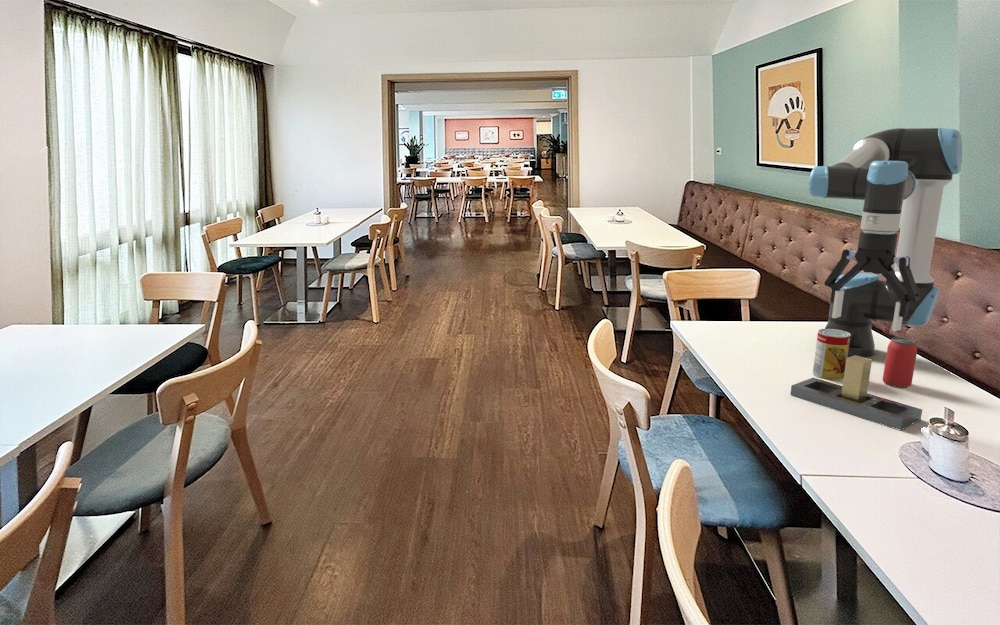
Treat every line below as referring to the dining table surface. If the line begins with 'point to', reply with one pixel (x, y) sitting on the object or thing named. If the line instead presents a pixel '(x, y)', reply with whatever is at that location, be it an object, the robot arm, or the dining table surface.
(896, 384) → the beer can
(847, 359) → the wooden block
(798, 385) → the grey slotted tray
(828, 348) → the canned food
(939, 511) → the dining table surface
